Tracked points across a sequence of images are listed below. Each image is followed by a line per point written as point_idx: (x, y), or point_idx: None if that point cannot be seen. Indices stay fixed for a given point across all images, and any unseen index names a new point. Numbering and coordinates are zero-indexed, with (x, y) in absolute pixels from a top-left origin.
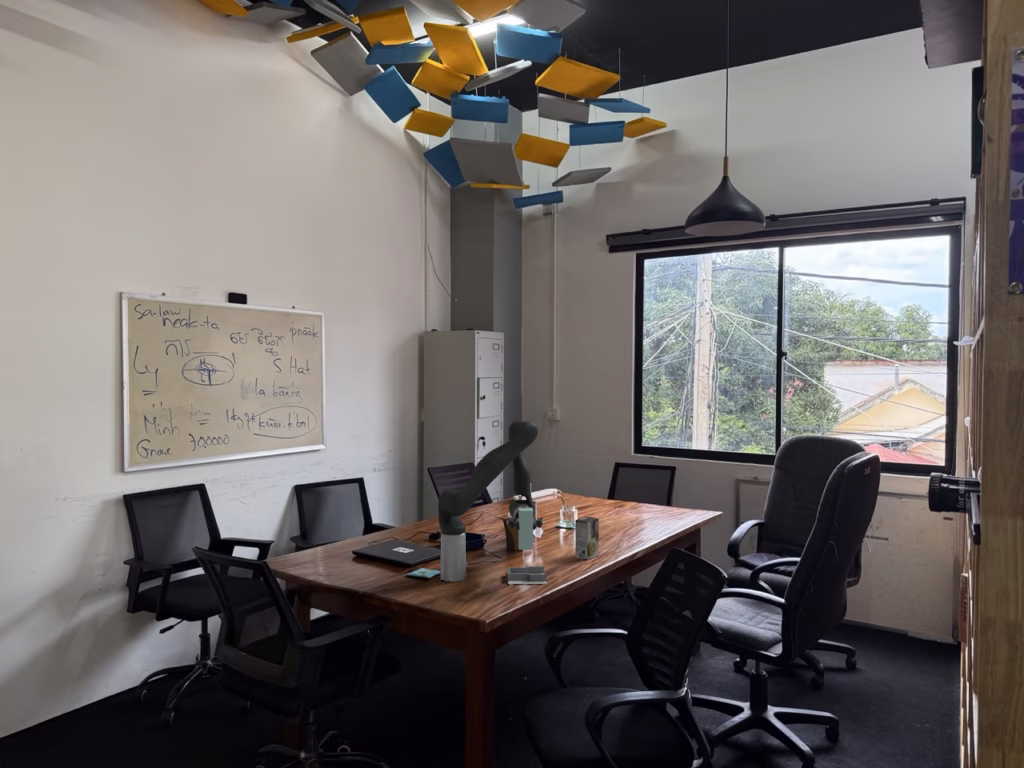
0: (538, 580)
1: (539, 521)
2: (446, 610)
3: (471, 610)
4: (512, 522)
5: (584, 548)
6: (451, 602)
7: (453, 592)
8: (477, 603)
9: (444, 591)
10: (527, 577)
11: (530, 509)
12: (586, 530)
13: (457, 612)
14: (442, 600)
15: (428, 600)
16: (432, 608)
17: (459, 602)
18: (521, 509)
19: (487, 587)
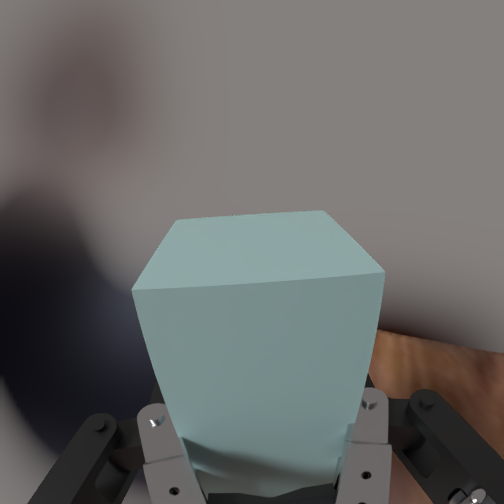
0: None
1: (103, 415)
2: (428, 343)
3: (383, 352)
4: (411, 400)
5: None
6: (444, 376)
7: (477, 427)
8: (388, 384)
9: (498, 425)
10: None
11: (191, 239)
12: None
13: (404, 340)
14: (467, 380)
15: (489, 372)
16: (456, 345)
17: (429, 380)
18: (313, 233)
19: (409, 495)
